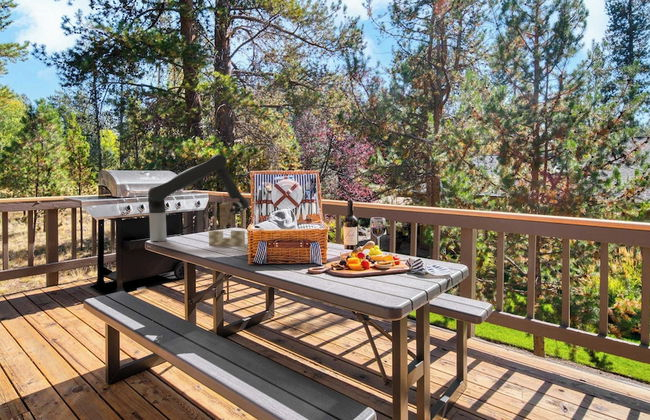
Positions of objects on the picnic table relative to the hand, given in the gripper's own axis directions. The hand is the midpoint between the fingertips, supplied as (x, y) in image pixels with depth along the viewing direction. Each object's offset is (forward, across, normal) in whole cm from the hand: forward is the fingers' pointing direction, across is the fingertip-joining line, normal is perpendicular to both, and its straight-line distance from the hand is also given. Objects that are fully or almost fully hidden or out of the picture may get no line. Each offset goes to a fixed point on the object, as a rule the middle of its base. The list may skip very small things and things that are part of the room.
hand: (228, 210), depth 243 cm
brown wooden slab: (+4, 0, +7) cm, 8 cm away
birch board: (+4, 0, +19) cm, 20 cm away
